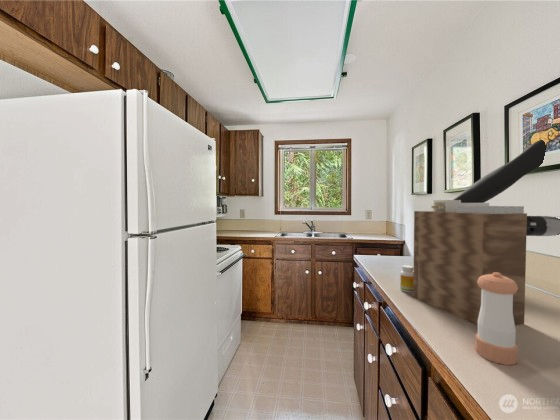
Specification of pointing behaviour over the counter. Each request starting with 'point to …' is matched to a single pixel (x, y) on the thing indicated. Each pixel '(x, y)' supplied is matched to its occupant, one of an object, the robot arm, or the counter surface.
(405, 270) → the supplement bottle
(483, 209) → the socket block
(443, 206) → the plug
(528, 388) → the counter surface
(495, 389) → the counter surface
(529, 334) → the counter surface
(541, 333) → the counter surface
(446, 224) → the walnut shelf
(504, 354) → the pepper shaker
